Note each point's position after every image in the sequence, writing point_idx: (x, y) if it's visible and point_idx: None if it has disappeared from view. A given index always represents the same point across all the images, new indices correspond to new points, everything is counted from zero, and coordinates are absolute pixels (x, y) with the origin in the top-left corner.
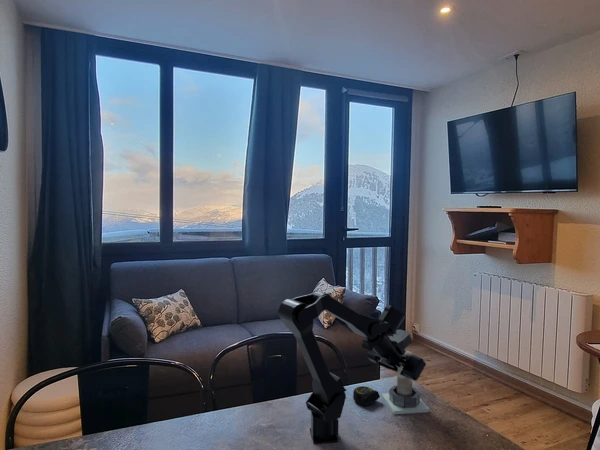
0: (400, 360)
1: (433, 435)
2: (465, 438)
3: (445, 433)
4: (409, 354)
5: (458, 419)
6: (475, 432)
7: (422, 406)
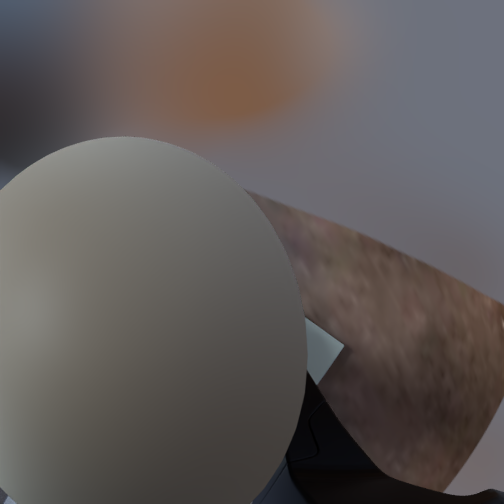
0: None
1: (420, 473)
2: (484, 396)
3: (442, 429)
4: (197, 358)
5: (433, 308)
6: (487, 340)
7: (310, 350)
